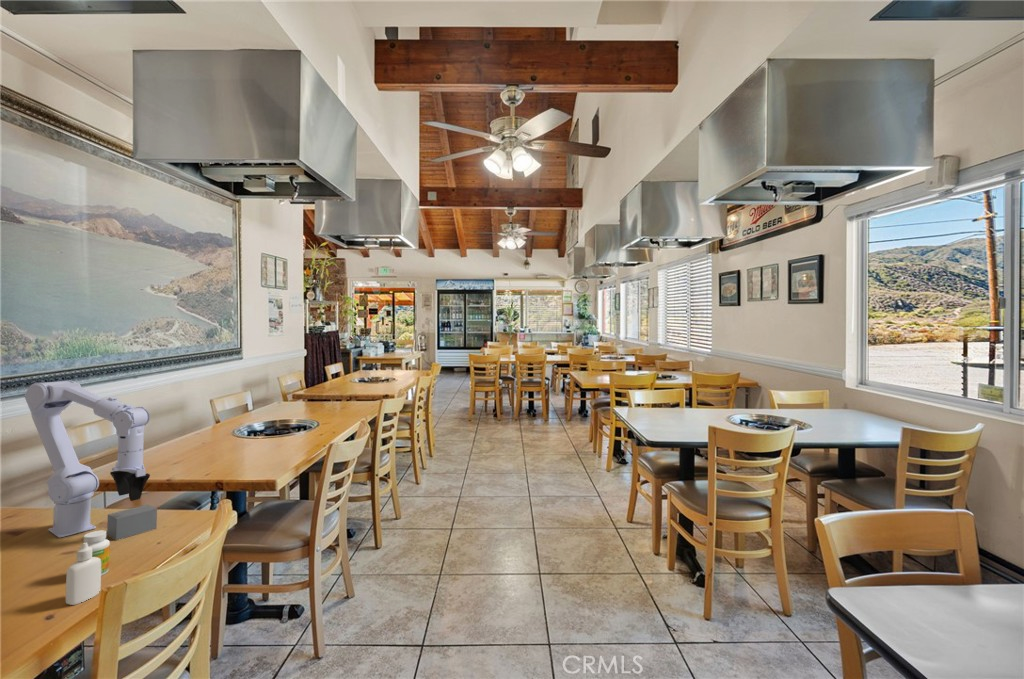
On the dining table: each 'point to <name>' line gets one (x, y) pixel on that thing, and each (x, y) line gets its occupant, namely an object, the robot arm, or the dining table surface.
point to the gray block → (131, 521)
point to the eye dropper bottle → (83, 577)
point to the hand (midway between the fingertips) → (129, 497)
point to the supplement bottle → (99, 548)
